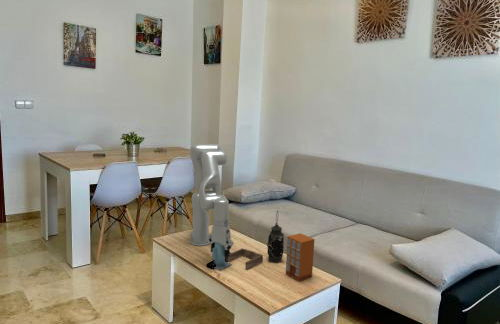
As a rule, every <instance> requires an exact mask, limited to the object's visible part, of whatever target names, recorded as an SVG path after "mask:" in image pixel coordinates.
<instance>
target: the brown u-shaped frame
mask: <svg viewBox="0 0 500 324" xmlns="http://www.w3.org/2000/svg"><path fill="white" fill-rule="evenodd" d="M242 257H245V258H248V260H247V261H245V266H244V267H245V270H246V271H249V270H250V269H252V268H254V267H257V266H259V265H260V264H262V263H263V260H264V255H263V254H262V253H258V252H256V251H252V250H249V249H247V248H240V249H237V250H236V251H233V252H230V254H229V256H228V257H225V262H226V261H227V262H229V263H231V262H233V261H235V260H237V259H240V258H242Z"/></svg>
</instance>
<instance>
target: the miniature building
mask: <svg viewBox="0 0 500 324" xmlns="http://www.w3.org/2000/svg"><path fill="white" fill-rule="evenodd" d="M286 241H287V243H286V260H285V262H286V263H285V275H287V276H288V277H290V278H292V279H294V280H296V281H297V282H303V281H306V280H308V279H310V278H311V279H312V278H313V268H314V267H313V266H314V252H315V251H314V250H315V238H313V237H310V236H308V235H305V234H302V233H301V232H299V233H296V234H292V235H288V236H287V240H286Z"/></svg>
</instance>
